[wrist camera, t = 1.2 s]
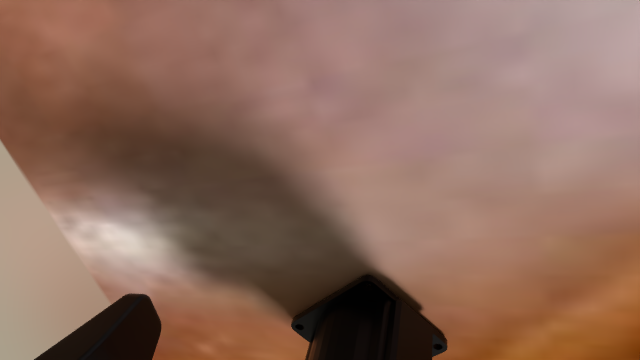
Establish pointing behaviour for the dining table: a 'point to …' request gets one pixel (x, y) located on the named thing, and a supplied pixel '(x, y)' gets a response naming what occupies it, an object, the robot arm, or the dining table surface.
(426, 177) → the dining table surface
